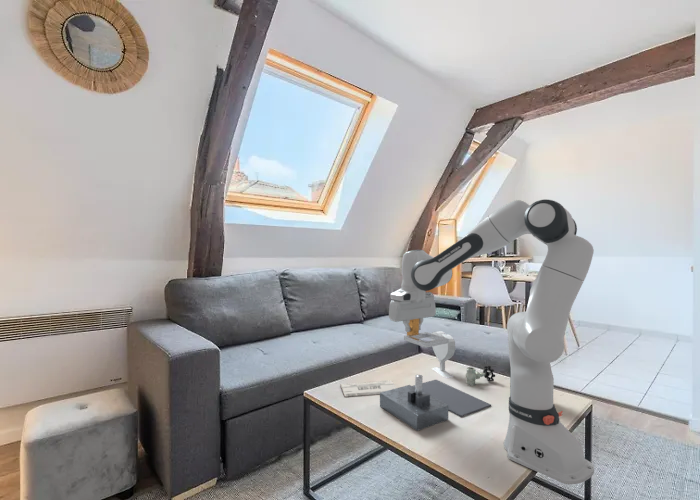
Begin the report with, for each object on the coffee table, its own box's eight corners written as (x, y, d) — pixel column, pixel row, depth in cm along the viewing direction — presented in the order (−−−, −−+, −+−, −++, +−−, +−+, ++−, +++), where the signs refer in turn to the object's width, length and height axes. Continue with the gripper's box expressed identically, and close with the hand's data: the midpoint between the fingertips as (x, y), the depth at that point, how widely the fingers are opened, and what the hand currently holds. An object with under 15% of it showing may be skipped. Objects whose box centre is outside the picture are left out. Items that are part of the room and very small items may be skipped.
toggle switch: (448, 419, 123) (448, 378, 122) (417, 430, 116) (417, 387, 115) (409, 397, 140) (409, 361, 140) (379, 406, 133) (380, 368, 132)
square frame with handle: (448, 343, 127) (449, 323, 127) (425, 347, 121) (426, 326, 121) (421, 334, 139) (421, 315, 139) (398, 338, 133) (398, 319, 133)
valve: (471, 387, 150) (495, 383, 154) (472, 371, 150) (495, 368, 154) (461, 381, 156) (484, 378, 160) (462, 366, 156) (484, 363, 160)
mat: (491, 406, 133) (491, 404, 133) (460, 417, 125) (460, 415, 125) (435, 380, 157) (435, 379, 157) (407, 388, 148) (407, 387, 148)
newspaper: (389, 382, 156) (389, 377, 156) (398, 397, 144) (398, 391, 144) (337, 386, 152) (337, 380, 152) (342, 401, 140) (342, 395, 140)
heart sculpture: (456, 377, 160) (456, 337, 160) (446, 379, 159) (446, 338, 159) (438, 366, 175) (439, 329, 175) (429, 367, 174) (429, 329, 174)
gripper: (427, 290, 142) (427, 325, 143) (386, 294, 131) (386, 332, 132) (439, 292, 137) (439, 329, 137) (397, 296, 126) (397, 336, 126)
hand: (413, 330), depth 134 cm, fingers closed on square frame with handle, 3 cm apart
